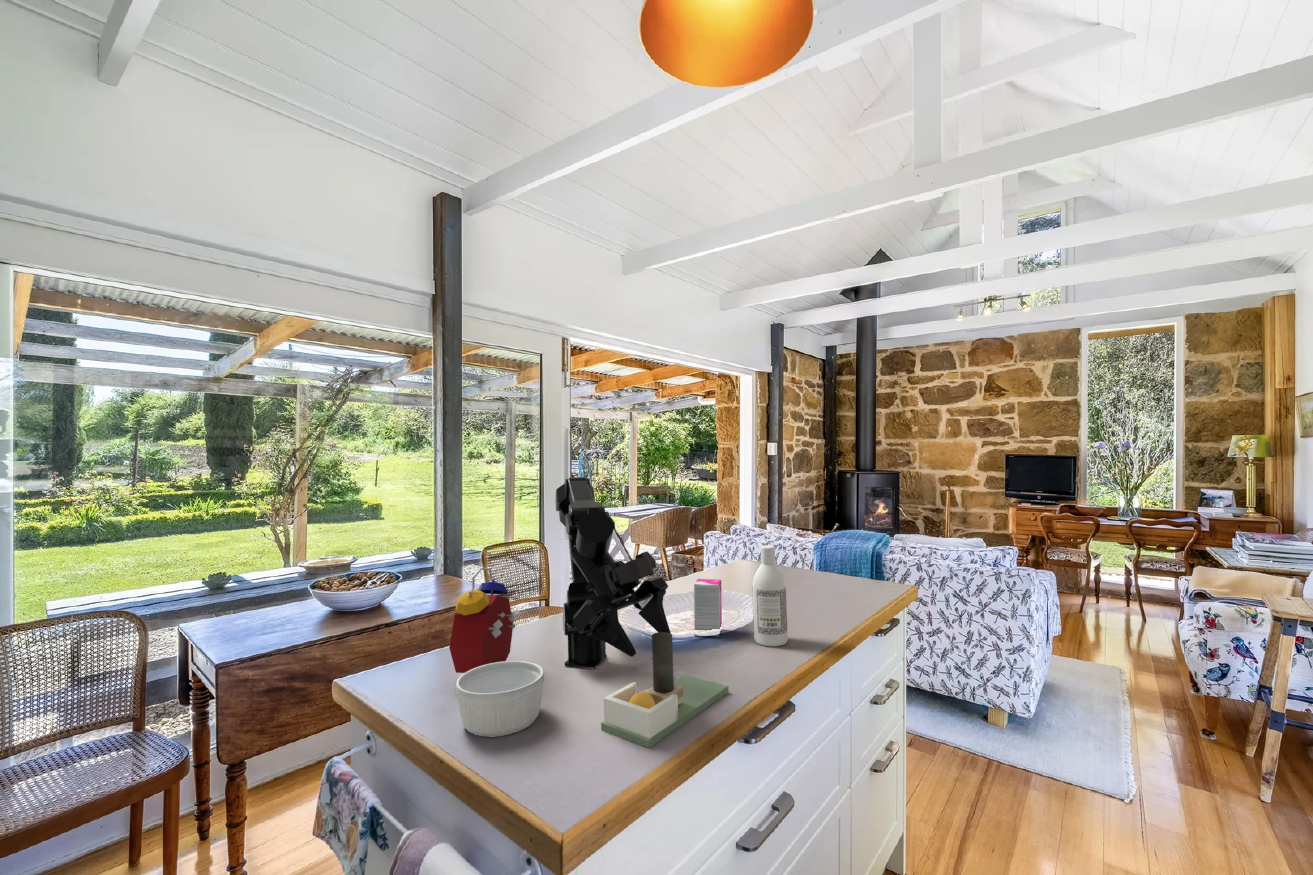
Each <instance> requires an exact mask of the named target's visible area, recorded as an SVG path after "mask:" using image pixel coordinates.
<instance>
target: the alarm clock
mask: <svg viewBox="0 0 1313 875" xmlns="http://www.w3.org/2000/svg"><path fill="white" fill-rule="evenodd" d="M481 571H488V573H489V574H488V575H489V581H487V582H486V581H485V582H481V584H479V585H478V588H477V589H475V581H476V580H475V578H476V577H477V576H478V575H479V574H480V573H481ZM471 580H472V581H471V582H472V584H471V585H472V586H471V589H470V590H468V591H465V592H464V593H462V594H461V595H460V596H458V599H457V601H456V604H455V613H454V617H453V623H452V628H451V635H450V642H449V652H450V656H451V659H452V664H453V667H454V672H455V673H457V674H464V673H466V672H467V671H469V670H471V669H474V668H476V667H479V666H482V665H486V664H490V663H496V662H503V661H507V659H508V657H509V654H510V653H511V646H512V638H513V630H514V629H515V628H516V625H515V623H514V621H516V620H517V619H518V616H517V615H519V614H520V611H519V610H518V609H515V610H513V611H512V609H511V602H510V599H509V598H507V597H505V596H502V595H507V594H508V590H507V588H506V586H505V584H504V583H501V582H498V581H495V580H496V578H495V577H492V569H491V568H489V567H480V569H479V570H478V571H477V572H476V574H475V575H474V576H473V577H472V579H471Z"/></svg>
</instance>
